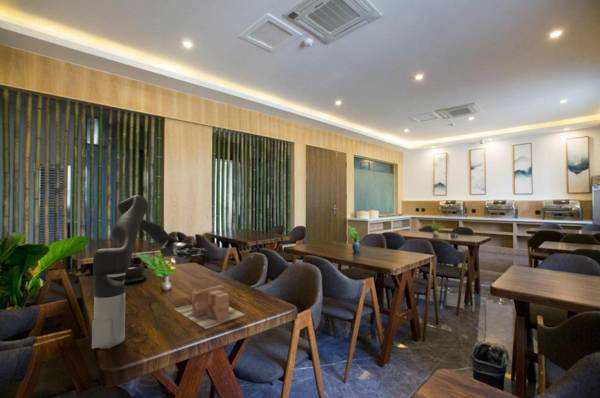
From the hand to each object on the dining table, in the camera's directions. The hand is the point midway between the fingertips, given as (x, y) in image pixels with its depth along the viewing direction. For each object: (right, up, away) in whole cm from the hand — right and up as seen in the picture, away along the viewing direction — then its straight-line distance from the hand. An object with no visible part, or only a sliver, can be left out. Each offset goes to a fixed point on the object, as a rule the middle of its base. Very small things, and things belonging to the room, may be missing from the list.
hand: (198, 254), depth 133 cm
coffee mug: (-52, -25, +21) cm, 61 cm away
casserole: (-61, -26, +45) cm, 80 cm away
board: (+7, -25, -7) cm, 27 cm away
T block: (+11, -24, -10) cm, 29 cm away
